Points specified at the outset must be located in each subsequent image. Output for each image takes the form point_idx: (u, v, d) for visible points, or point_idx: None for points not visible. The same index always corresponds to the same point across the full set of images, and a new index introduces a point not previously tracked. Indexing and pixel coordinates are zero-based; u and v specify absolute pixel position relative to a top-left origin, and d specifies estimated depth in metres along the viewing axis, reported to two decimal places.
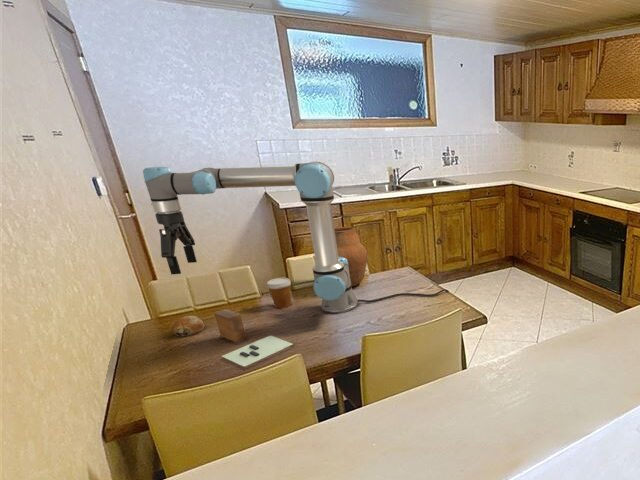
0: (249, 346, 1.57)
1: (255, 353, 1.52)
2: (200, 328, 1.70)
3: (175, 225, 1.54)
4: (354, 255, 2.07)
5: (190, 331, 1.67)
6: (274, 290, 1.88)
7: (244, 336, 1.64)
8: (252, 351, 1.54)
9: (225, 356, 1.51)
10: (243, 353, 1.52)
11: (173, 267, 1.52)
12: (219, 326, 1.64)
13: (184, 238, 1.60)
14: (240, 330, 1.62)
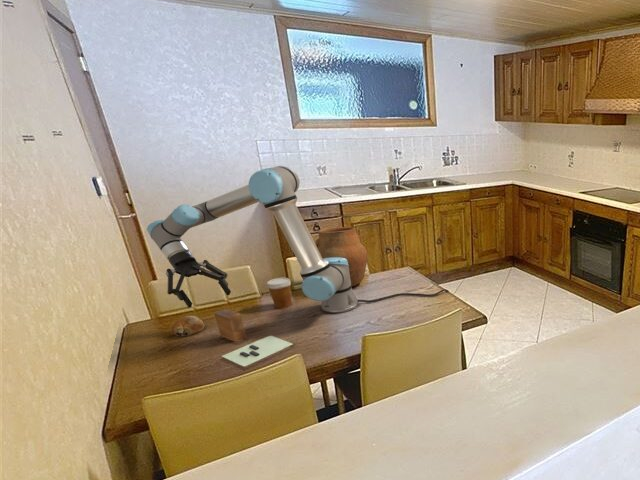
0: (249, 346, 1.57)
1: (255, 353, 1.52)
2: (200, 328, 1.70)
3: (186, 264, 1.64)
4: (354, 255, 2.07)
5: (190, 331, 1.67)
6: (274, 290, 1.88)
7: (244, 336, 1.64)
8: (252, 351, 1.54)
9: (225, 356, 1.51)
10: (243, 353, 1.52)
11: (185, 300, 1.58)
12: (219, 326, 1.64)
13: (208, 274, 1.68)
14: (240, 330, 1.62)
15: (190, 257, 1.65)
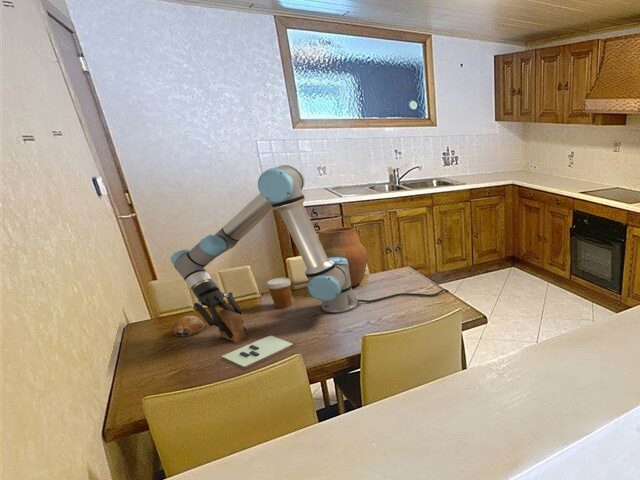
0: (249, 346, 1.57)
1: (255, 353, 1.52)
2: (200, 328, 1.70)
3: (210, 295, 1.63)
4: (354, 255, 2.07)
5: (190, 331, 1.67)
6: (274, 290, 1.88)
7: (244, 336, 1.64)
8: (252, 351, 1.54)
9: (225, 356, 1.51)
10: (243, 353, 1.52)
11: (226, 331, 1.61)
12: None
13: (226, 308, 1.64)
14: (240, 330, 1.62)
15: (214, 287, 1.63)
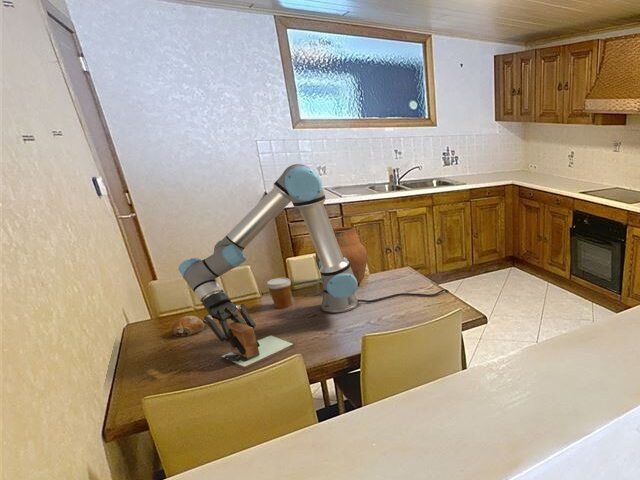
0: (225, 356, 1.50)
1: (243, 358, 1.49)
2: (200, 328, 1.70)
3: (220, 307, 1.50)
4: (354, 255, 2.07)
5: (190, 331, 1.67)
6: (274, 290, 1.88)
7: (257, 351, 1.51)
8: (240, 356, 1.50)
9: None
10: (232, 358, 1.49)
11: (238, 347, 1.48)
12: None
13: (238, 321, 1.52)
14: (253, 345, 1.49)
15: (225, 299, 1.50)
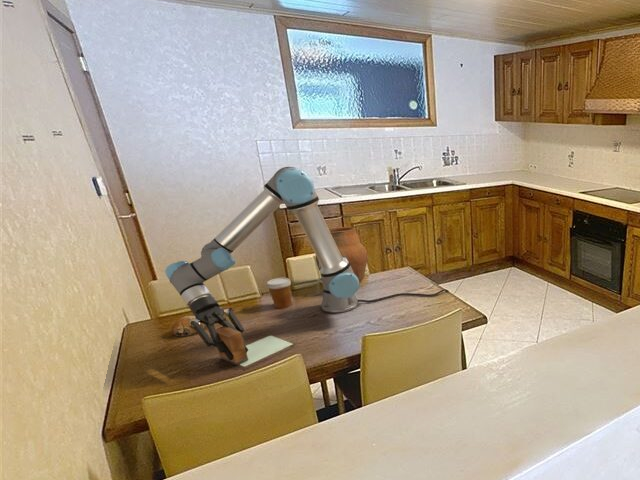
0: None
1: None
2: None
3: (208, 311, 1.47)
4: (354, 255, 2.07)
5: (190, 331, 1.67)
6: (274, 290, 1.88)
7: (245, 356, 1.48)
8: None
9: None
10: None
11: (226, 352, 1.44)
12: None
13: (226, 325, 1.48)
14: (241, 350, 1.46)
15: (213, 303, 1.47)
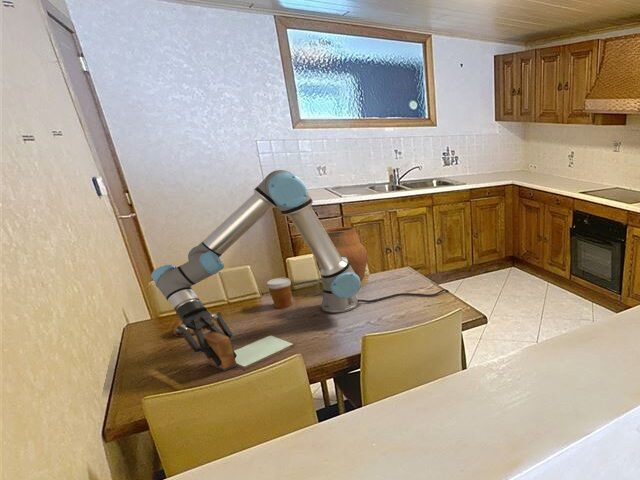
0: None
1: None
2: None
3: (195, 316, 1.43)
4: (354, 255, 2.07)
5: (190, 331, 1.67)
6: (274, 290, 1.88)
7: (234, 362, 1.45)
8: None
9: None
10: None
11: (214, 358, 1.41)
12: None
13: (214, 330, 1.45)
14: (229, 355, 1.43)
15: (200, 307, 1.44)
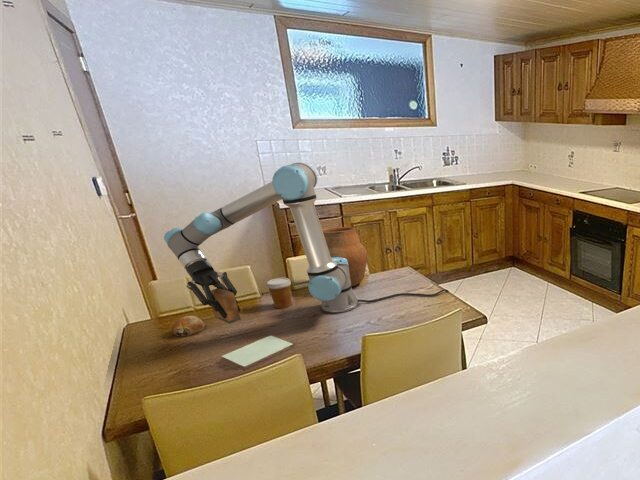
0: None
1: None
2: (200, 328, 1.70)
3: (203, 274, 1.60)
4: (354, 255, 2.07)
5: (190, 331, 1.67)
6: (274, 290, 1.88)
7: (238, 315, 1.61)
8: None
9: (225, 356, 1.51)
10: None
11: (220, 311, 1.57)
12: None
13: (220, 287, 1.61)
14: (234, 309, 1.59)
15: (208, 266, 1.60)
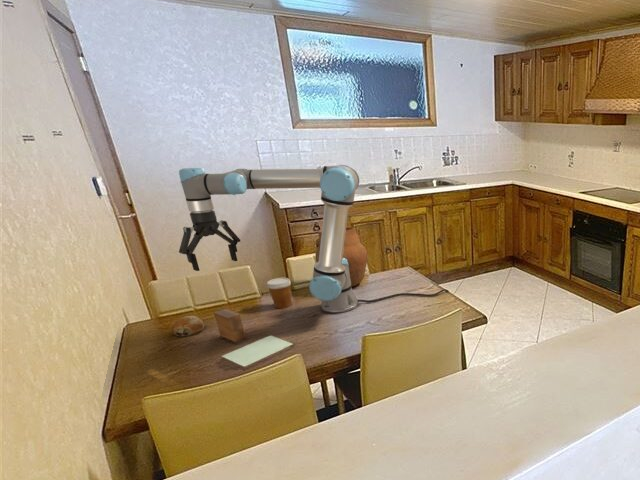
0: None
1: None
2: (200, 328, 1.70)
3: (206, 224, 1.59)
4: (354, 255, 2.07)
5: (190, 331, 1.67)
6: (274, 290, 1.88)
7: (243, 336, 1.64)
8: None
9: (225, 356, 1.51)
10: None
11: (193, 264, 1.59)
12: (219, 326, 1.64)
13: (223, 237, 1.65)
14: (240, 330, 1.62)
15: (213, 220, 1.59)
